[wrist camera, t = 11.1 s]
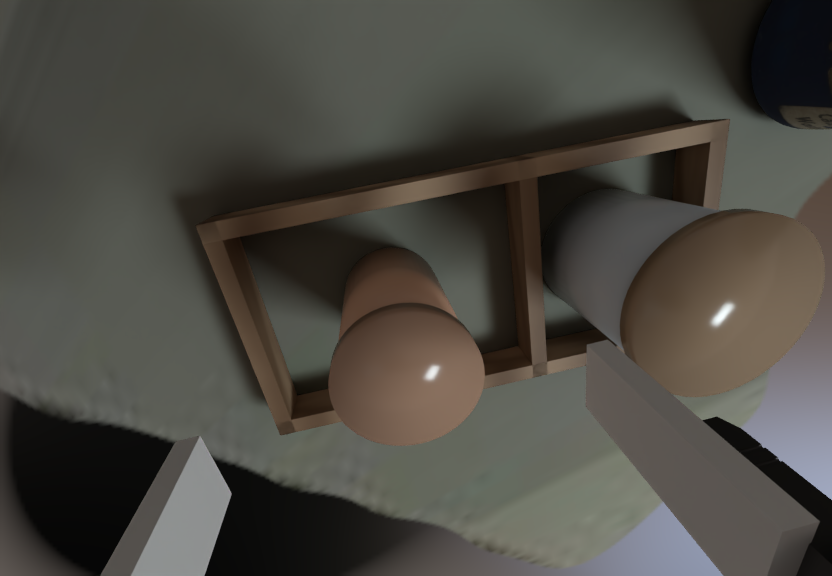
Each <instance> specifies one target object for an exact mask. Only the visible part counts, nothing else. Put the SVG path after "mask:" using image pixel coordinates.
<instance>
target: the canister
mask: <svg viewBox="0 0 832 576" xmlns="http://www.w3.org/2000/svg"><path fill="white" fill-rule="evenodd" d="M751 75H752V84H753V89H754V93H755V96H756V98H757V100H758V103H759V104H760V106H761V107H762V109H763V110H764V111H765V113H766V114H767V115H768V116H769V117H771V118H772V119H774V120H775V121H777V122H779V123H781V124H783V125H786V126H789V127H793V128H798V129H832V0H772V2H771V4H770V6H769V7H768V9H767V11H766V13H765V15H764V18H763V20H762V22H761V24H760V27H759V30H758V33H757V36H756V40H755V44H754V48H753V54H752V62H751Z"/></svg>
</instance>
